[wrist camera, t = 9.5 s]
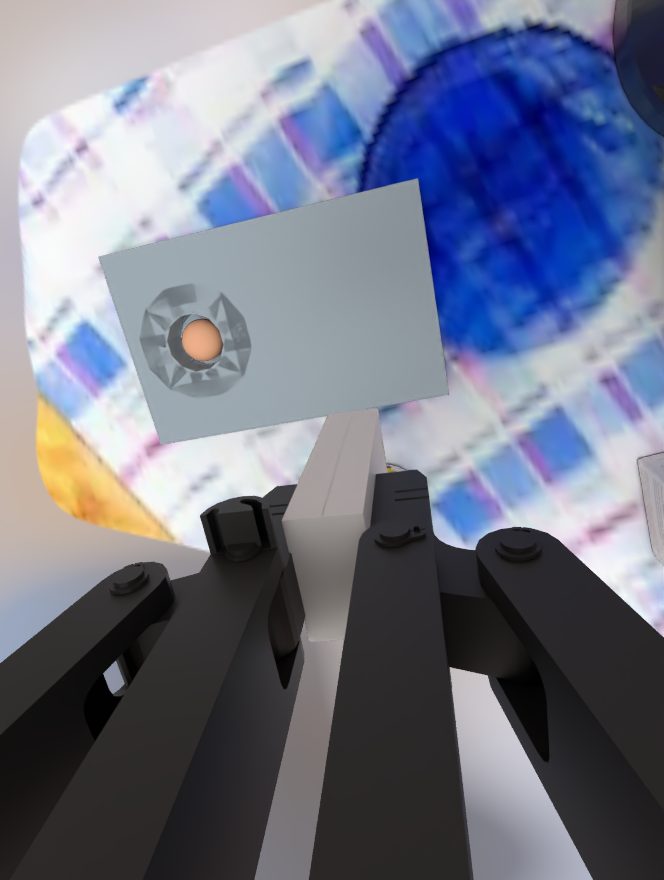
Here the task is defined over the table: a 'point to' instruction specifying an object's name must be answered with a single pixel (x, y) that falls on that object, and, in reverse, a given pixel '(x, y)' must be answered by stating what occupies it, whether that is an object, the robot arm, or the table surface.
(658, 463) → the supplement box
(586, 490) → the table surface
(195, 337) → the ball
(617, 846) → the robot arm
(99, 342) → the table surface
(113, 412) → the table surface
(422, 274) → the plate
